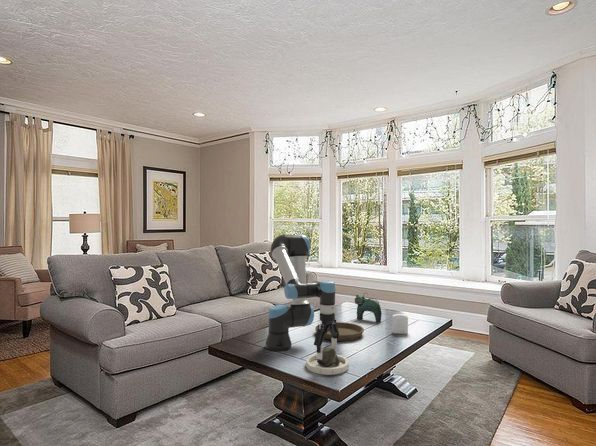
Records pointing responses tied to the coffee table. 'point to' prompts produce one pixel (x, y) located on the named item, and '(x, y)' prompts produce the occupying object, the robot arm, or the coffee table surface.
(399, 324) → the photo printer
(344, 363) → the round tray
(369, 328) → the coffee table surface
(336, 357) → the fossil
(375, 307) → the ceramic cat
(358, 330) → the plant saucer
